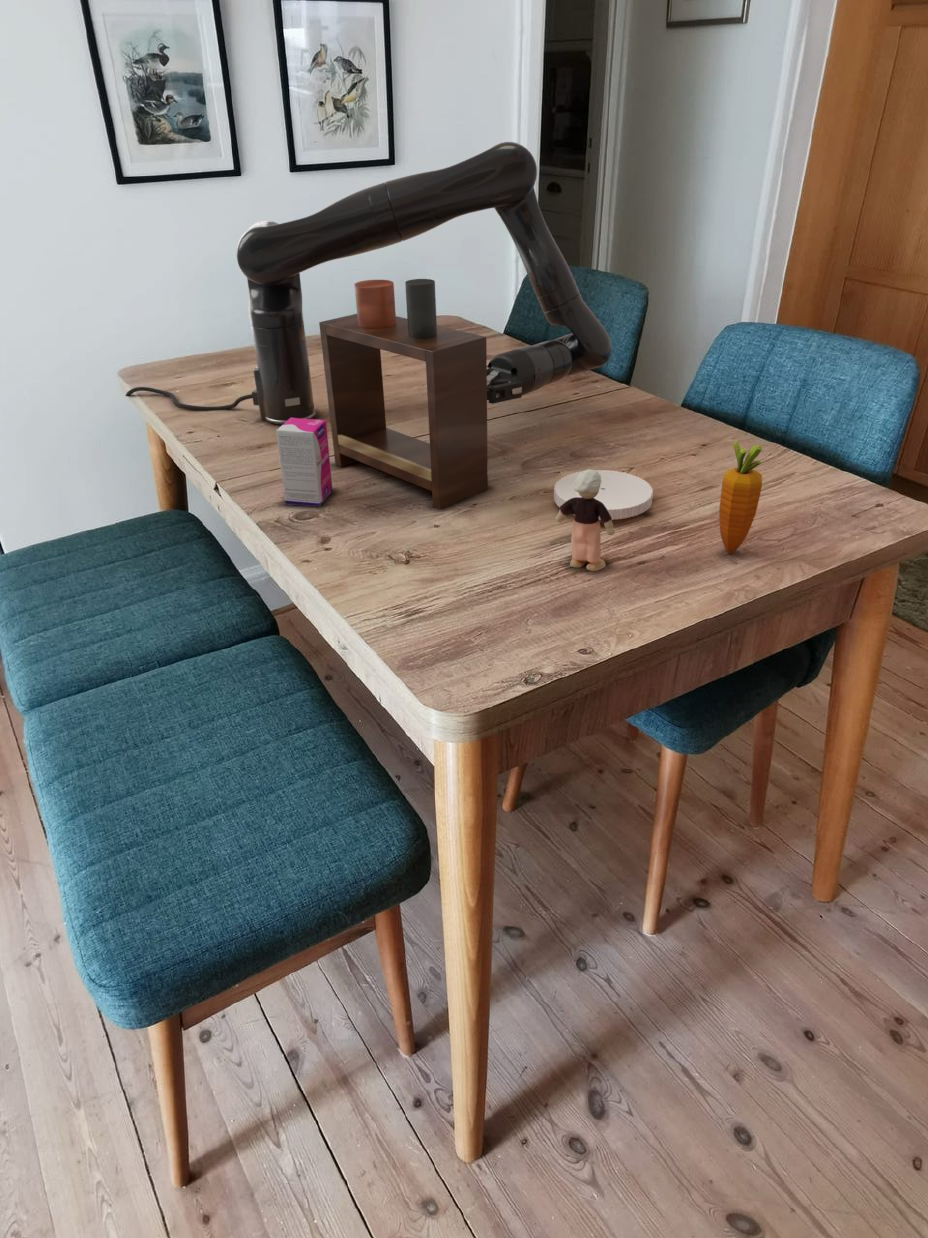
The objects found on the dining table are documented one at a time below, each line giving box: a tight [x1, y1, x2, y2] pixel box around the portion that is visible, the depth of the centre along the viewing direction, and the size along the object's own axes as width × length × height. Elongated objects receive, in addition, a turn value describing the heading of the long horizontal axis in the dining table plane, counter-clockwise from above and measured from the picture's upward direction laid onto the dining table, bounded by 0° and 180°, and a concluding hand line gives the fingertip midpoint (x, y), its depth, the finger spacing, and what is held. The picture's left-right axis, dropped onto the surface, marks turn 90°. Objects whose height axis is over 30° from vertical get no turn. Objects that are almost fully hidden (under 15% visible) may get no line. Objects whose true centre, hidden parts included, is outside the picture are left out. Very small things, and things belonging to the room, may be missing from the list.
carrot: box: [718, 441, 763, 555], centre depth 103 cm, size 5×5×15 cm
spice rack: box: [318, 278, 489, 510], centre depth 123 cm, size 25×10×30 cm, turn 44°
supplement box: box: [275, 418, 333, 507], centre depth 122 cm, size 6×6×12 cm
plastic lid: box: [553, 469, 654, 521], centre depth 120 cm, size 14×14×2 cm
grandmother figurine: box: [555, 468, 616, 572], centre depth 103 cm, size 8×4×13 cm, turn 71°
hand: (448, 395), depth 131 cm, fingers closed on shaker, 4 cm apart
